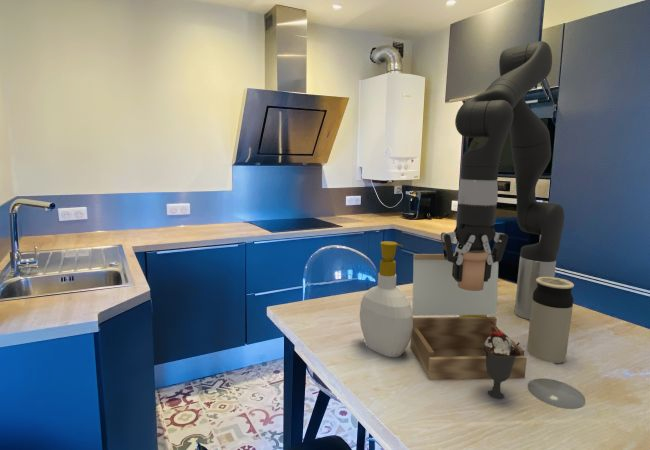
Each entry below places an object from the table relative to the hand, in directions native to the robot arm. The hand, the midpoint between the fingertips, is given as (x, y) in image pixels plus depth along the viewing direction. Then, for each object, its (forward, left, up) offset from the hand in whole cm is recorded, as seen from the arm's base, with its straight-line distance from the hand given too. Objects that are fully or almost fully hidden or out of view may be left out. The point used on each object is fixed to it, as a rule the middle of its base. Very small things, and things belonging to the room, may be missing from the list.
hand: (470, 280), depth 85 cm
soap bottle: (+16, -7, -19) cm, 26 cm away
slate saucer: (-13, +13, -19) cm, 26 cm away
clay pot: (0, 0, -1) cm, 1 cm away
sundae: (-1, +13, -19) cm, 23 cm away
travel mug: (-21, -3, -19) cm, 29 cm away
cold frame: (0, 0, -19) cm, 19 cm away
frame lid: (0, -7, -3) cm, 8 cm away
